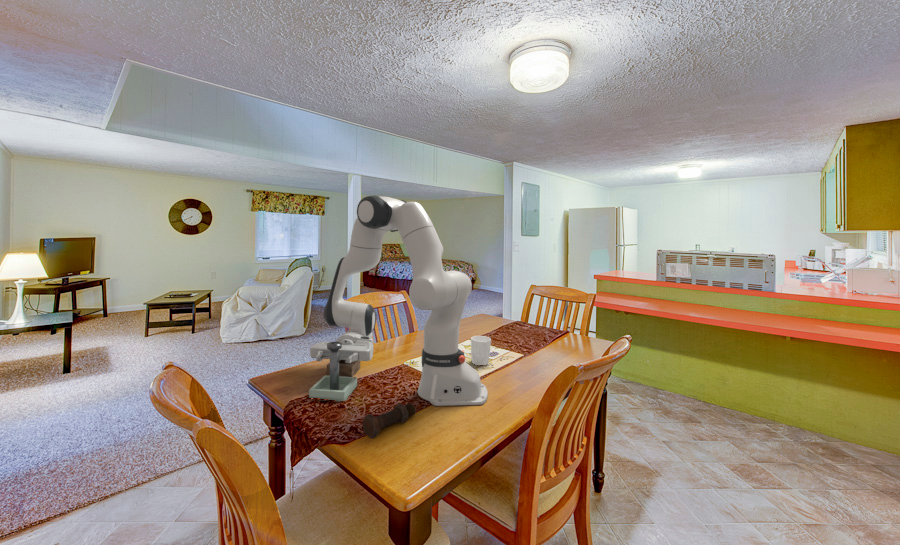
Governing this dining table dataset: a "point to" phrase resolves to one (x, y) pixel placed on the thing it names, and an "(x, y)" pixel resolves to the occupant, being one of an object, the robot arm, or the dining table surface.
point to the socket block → (346, 368)
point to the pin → (334, 364)
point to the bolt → (387, 419)
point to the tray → (324, 392)
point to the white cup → (480, 349)
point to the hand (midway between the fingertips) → (332, 359)
